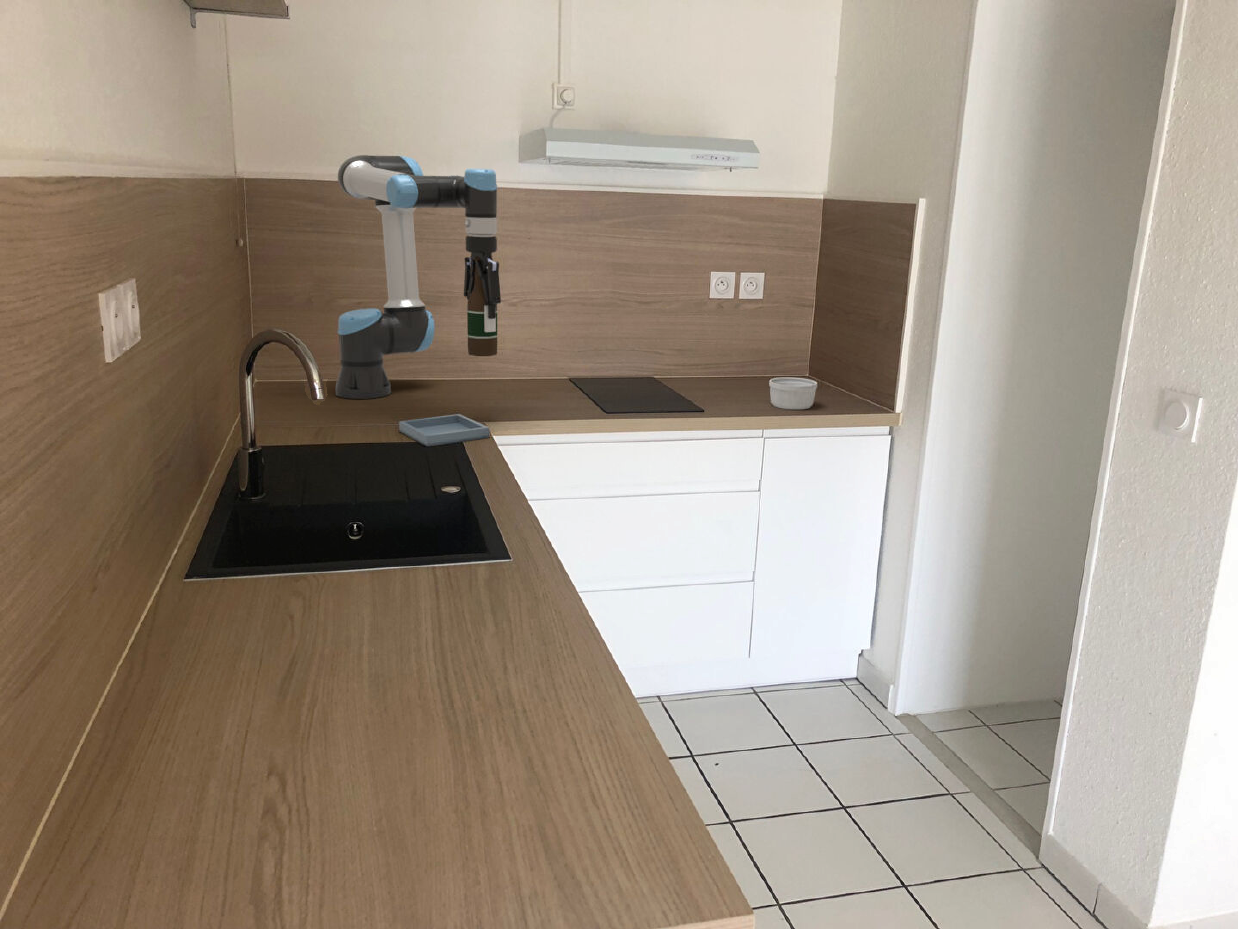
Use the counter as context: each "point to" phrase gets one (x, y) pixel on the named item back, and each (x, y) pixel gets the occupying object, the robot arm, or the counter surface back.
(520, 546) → the counter surface
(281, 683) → the counter surface
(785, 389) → the ramekin
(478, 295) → the beer bottle
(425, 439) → the dish
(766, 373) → the counter surface
